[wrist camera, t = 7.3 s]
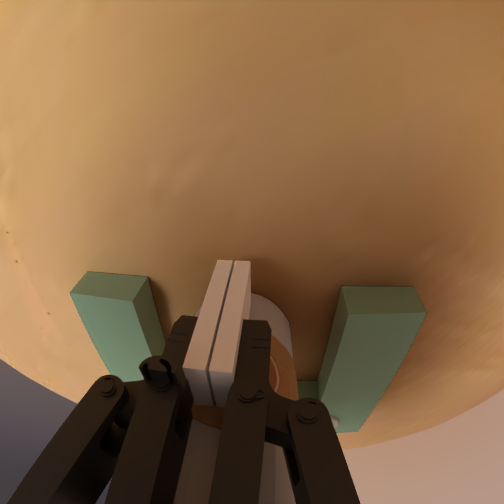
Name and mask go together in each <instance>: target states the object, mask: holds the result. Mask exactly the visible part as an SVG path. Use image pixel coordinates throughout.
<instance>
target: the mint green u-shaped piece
mask: <svg viewBox="0 0 504 504" xmlns="http://www.w3.org/2000/svg"><path fill="white" fill-rule="evenodd" d="M70 295H71V297H72V299H73V302H74V304H75V306H76V309H77V311H78V313H79V315H80V317H81V319H82V322H83V324H84V326H85V328H86V330H87V332H88V334H89V336H90V338H91V340H92V342H93V344H94V346H95V348H96V349H97V351H98V353H99V355H100V357H101V359H102V360H103V362H104V364H105V366H106V367H107V369H108V371H109V373H110V374H111V375H115V376H118V377H119V378H120V379H121V380H122V381H123V382H129V381H139V380H143V379H144V378H143V376H142V374H141V371H140V369H139V365H140V364H141V362H142V361H144V360H145V359H147V358H148V357H151V356H158V355H162V353H163V351H164V348H165V346H166V341H165V338H164V334H163V331H162V328H161V324H160V321H159V317H158V314H157V310H156V307H155V303H154V299H153V296H152V292H151V288H150V284H149V280H148V277H147V276H134V275H122V274H110V273H99V272H87V273H86V274H85V275H84V276H83V277H82V278H81V280H80V281H79V282H78V283H77V284H76V286H75V287H74V288H73V289H72V290H71V292H70ZM426 313H427V311H426V309H425V308H424V306H423V304H422V302H421V300H420V298H419V296H418V294H417V293H416V291H415V289H414V287H378V286H341V289H340V294H339V299H338V303H337V307H336V312H335V316H334V320H333V324H332V328H331V332H330V336H329V340H328V344H327V348H326V351H325V355H324V359H323V362H322V366H321V369H320V373H319V376H318V380H317V381H297V388H298V399H301V398H309V397H311V398H315V399H318V400H320V401H321V402H322V403H324V404H325V406H326V408H327V409H328V412H329V414H330V417H331V420H332V423H333V426H334V429H335V431H336V433H345V432H357V431H358V430H359V429H360V428H361V426H362V425H363V424H364V422H365V421H366V419H367V418H368V416H369V415H370V413H371V412H372V411H373V409H374V408H375V406H376V405H377V403H378V402H379V400H380V398H381V397H382V395H383V394H384V392H385V391H386V389H387V387H388V386H389V384H390V382H391V381H392V379H393V377H394V376H395V374H396V372H397V370H398V369H399V367H400V365H401V363H402V361H403V360H404V358H405V356H406V354H407V352H408V350H409V348H410V347H411V345H412V343H413V341H414V339H415V337H416V335H417V333H418V331H419V328H420V326H421V324H422V322H423V320H424V318H425V316H426Z"/></svg>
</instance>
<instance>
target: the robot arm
mask: <svg viewBox="0 0 504 504" xmlns="http://www.w3.org/2000/svg"><path fill="white" fill-rule="evenodd" d="M250 307H251V261H236V260H235V263H234V267H233V260H217V263H216V266H215V269H214V272H213V275H212V278H211V281H210V283H209V286H208V289H207V292H206V295H205V298H204V301H203V305H202V308H201V311H200V314H199V317H196V316H185V315H182V316H181V317H180V318H179V319H178V320H177V321H176V322H175V323H174V325H173V328H172V330H171V334H170V335H169V338H168V341H167V343H166V346H165V348H164V351H163V353H162V355H158V356H151V357H148V358H147V359H145V360H144V361H142V362H141V364H140V365H139V369H140V371H141V374H142V376H143V378H144V379H143V380H139V381H129V382H123V381H122V380H121V379H120V378H119V377H118V376H115V375H105V376H102V377H100V378H99V379H98V380H97V381H95V383H94V384H93V385H92V386H91V388H90V389H89V390H88V392H87V393H86V394H85V395H84V397H83V398H82V399H81V401H80V402H79V403H78V405H77V406H76V407H75V408H74V410H73V411H72V412H71V414H70V415H69V416H68V418H67V419H66V420H65V422H64V423H63V425H62V426H61V427H60V428H59V430H58V431H57V432H56V434H55V435H54V437H53V438H52V439H51V441H50V442H49V443H48V445H47V446H46V448H45V449H44V450H43V452H42V453H41V455H40V456H39V457H38V459H37V460H36V461H35V463H34V464H33V466H32V467H31V469H30V470H29V472H28V473H27V474H26V476H25V477H24V479H23V481H22V482H21V483H20V485H19V486H18V488H17V489H16V491H15V492H14V494H13V495H12V497H11V498H10V500H9V501H8V503H7V504H95V503H96V501H97V500H98V498H99V496H100V495H101V493H102V492H103V490H104V489H105V487H106V485H107V484H108V482H109V481H110V479H111V477H112V480H111V483H110V486H109V490H108V493H107V497H106V500H105V504H173V502H174V498H175V494H176V489H177V485H178V481H179V476H180V472H181V468H182V463H183V459H184V455H185V450H186V446H187V441H188V437H189V432H190V428H191V423H192V419H193V418H192V411H191V408H192V404H193V401H194V403H195V405H207V406H214V402H216V406H217V407H222V408H225V413H224V419H223V424H222V430H221V436H220V441H219V447H218V452H217V458H216V463H215V469H214V475H213V480H212V486H211V491H210V497H209V502H208V504H258V502H259V493H260V483H261V473H262V462H263V451H264V441H265V442H268V443H271V444H273V445H276V446H279V447H282V449H283V453H284V457H285V461H286V465H287V470H288V474H289V478H290V482H291V486H292V490H293V494H294V498H295V502H296V504H360V501H359V498H358V495H357V492H356V489H355V486H354V484H353V480H352V478H351V475H350V472H349V469H348V466H347V463H346V460H345V457H344V454H343V451H342V448H341V446H340V443H339V440H338V437H337V434H336V431H335V429H334V426H333V423H332V420H331V417H330V414H329V412H328V409H327V408H326V406H325V404H324V403H322V402H321V401H320V400H318V399H315V398H311V397H309V398H301V399H298V400H296V401H295V400H291V399H288V398H285V397H283V396H280V395H279V394H277V393H276V392H275V391H274V390H273V389H272V388H271V385H270V383H269V370H270V352H271V333H272V329H271V327H270V325H269V323H268V321H267V320H249V315H250Z"/></svg>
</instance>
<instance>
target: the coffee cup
mask: <svg viewBox="0 0 504 504" xmlns="http://www.w3.org/2000/svg"><path fill="white" fill-rule="evenodd" d="M202 305H203V304H202ZM202 305H201V306H200V307H199V309H198V310H197V312H196V313H195V315H194V316H196V317H199V314H200V311H201V308H202ZM249 320H267V321H268V323H269V325H270V327H271V329H272V333H271V352H270V370H269V383H270V385H271V388H272V389H273V390H274V391H275V392H276V393H277V394H279V395H280V396H283V397H285V398H288V399H291V400H295V401H296V400H298V388H297V378H296V369H295V364H294V360H293V350H292V340H291V331H290V326H289V322H288V320H287V318H286V317H285V315H284V314H283V312H281V310H280V309H279V307H277V306H276V305H275V304H274V303H273V302H272V301H270V300H268V299H267V298H265V297H263V296H261V295H258V294H254V293H251V307H250V315H249ZM191 411H192V418H193V419H192V423H191V428H190V432H189V437H188V441H187V446H186V450H185V455H184V459H183V463H182V468H181V472H180V476H179V481H178V485H177V489H176V494H175V498H174V502H173V504H208V502H209V497H210V491H211V486H212V480H213V475H214V469H215V463H216V458H217V452H218V447H219V441H220V436H221V430H222V424H223V419H224V413H225V408H222V407H217V406H216V402H214V406H207V405H195V403H194V401H193V404H192V408H191ZM258 504H296V502H295V498H294V494H293V490H292V486H291V482H290V478H289V474H288V470H287V465H286V461H285V457H284V453H283V449H282V447H279V446H276V445H273V444H271V443H268V442H265V441H264V451H263V462H262V473H261V483H260V493H259V502H258Z"/></svg>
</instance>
